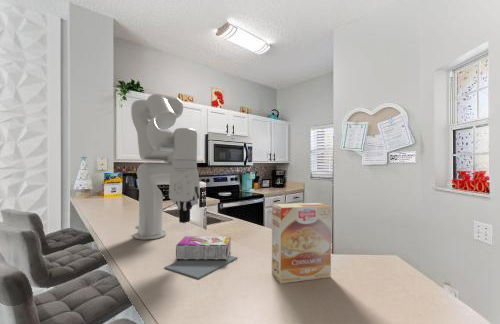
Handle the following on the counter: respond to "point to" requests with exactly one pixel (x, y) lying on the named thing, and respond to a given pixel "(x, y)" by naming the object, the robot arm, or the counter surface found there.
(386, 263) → the counter surface
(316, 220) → the coffeecake box
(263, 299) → the counter surface
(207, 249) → the candy bar box
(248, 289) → the counter surface
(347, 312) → the counter surface
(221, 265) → the mat
